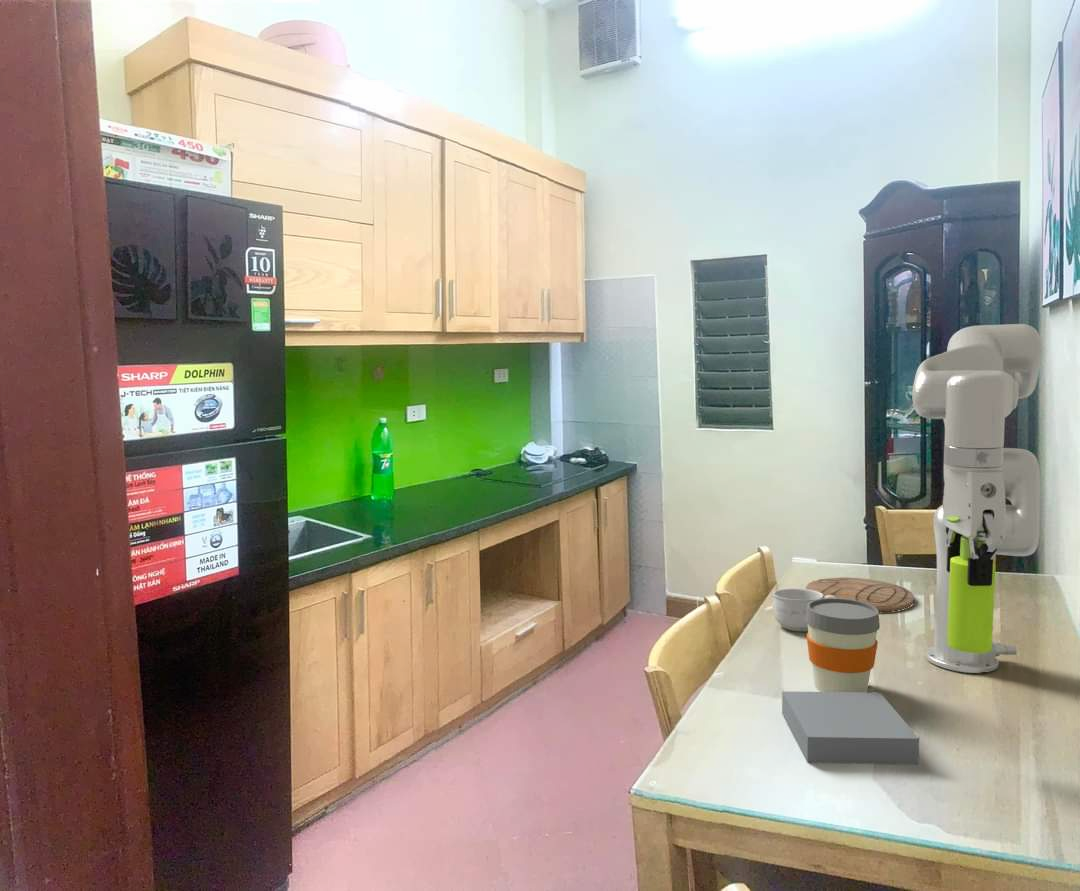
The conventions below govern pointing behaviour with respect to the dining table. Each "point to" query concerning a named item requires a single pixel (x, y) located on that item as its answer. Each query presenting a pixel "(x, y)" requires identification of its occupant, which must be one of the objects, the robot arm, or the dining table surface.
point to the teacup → (794, 607)
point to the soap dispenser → (969, 604)
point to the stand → (849, 728)
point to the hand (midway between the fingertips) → (968, 577)
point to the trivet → (865, 592)
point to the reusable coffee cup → (841, 643)
